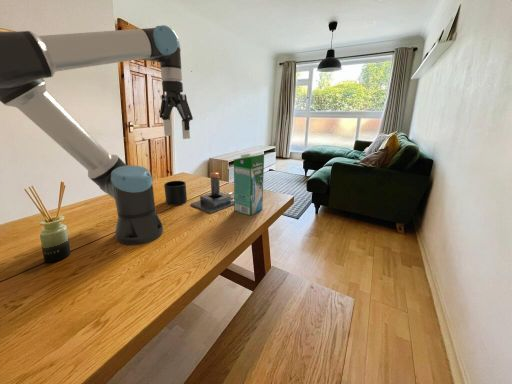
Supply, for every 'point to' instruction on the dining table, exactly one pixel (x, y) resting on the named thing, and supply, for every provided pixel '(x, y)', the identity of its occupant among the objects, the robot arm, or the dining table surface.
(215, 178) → the copper tipped cylinder
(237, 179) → the milk carton
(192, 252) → the dining table surface
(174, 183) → the mug
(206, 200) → the grey peg hole base
